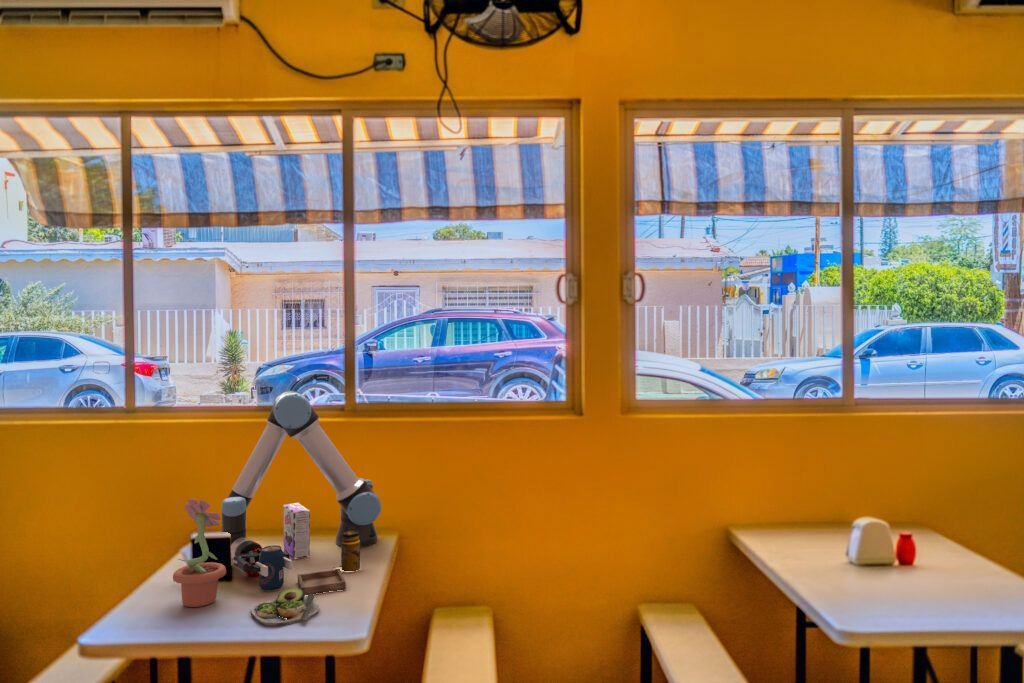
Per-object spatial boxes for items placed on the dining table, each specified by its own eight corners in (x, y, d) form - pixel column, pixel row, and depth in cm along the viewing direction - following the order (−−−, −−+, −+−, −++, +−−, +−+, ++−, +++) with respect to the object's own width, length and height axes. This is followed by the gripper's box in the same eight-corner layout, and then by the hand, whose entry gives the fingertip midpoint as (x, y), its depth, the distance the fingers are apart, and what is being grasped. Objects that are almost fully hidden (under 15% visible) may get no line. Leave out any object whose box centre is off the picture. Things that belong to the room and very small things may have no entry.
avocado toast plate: (334, 618, 177) (334, 601, 177) (266, 636, 166) (266, 618, 166) (309, 597, 192) (309, 581, 192) (245, 612, 181) (245, 595, 181)
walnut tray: (339, 576, 208) (339, 568, 208) (345, 590, 197) (345, 581, 197) (297, 582, 203) (297, 574, 203) (301, 596, 192) (301, 587, 192)
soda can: (254, 591, 196) (254, 550, 196) (268, 583, 203) (268, 544, 203) (274, 593, 194) (274, 552, 194) (288, 584, 201) (288, 545, 201)
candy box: (282, 549, 237) (282, 504, 237) (299, 547, 240) (299, 501, 240) (293, 559, 225) (293, 511, 226) (310, 556, 229) (310, 509, 229)
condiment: (364, 570, 215) (364, 533, 215) (339, 575, 210) (338, 537, 210) (356, 564, 221) (356, 528, 221) (331, 568, 216) (331, 532, 216)
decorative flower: (240, 597, 191) (239, 494, 192) (203, 615, 178) (202, 504, 179) (200, 591, 196) (200, 490, 197) (161, 608, 183) (161, 501, 184)
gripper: (276, 556, 218) (310, 572, 202) (214, 571, 204) (246, 590, 188) (275, 534, 218) (309, 548, 202) (214, 547, 204) (245, 563, 188)
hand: (279, 568), depth 195 cm, fingers closed on soda can, 7 cm apart
